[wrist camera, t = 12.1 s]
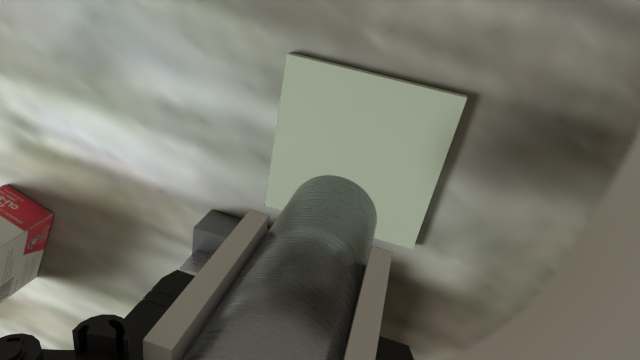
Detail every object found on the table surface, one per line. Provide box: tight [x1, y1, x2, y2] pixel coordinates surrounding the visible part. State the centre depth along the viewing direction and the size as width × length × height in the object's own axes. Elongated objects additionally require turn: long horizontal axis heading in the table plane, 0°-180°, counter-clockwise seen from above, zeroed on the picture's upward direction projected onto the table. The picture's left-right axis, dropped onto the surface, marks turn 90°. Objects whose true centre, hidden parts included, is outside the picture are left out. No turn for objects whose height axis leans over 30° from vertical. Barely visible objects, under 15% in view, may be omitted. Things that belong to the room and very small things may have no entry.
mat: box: [265, 52, 467, 250], centre depth 25 cm, size 10×10×1 cm
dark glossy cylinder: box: [182, 175, 377, 360], centre depth 13 cm, size 4×4×14 cm
